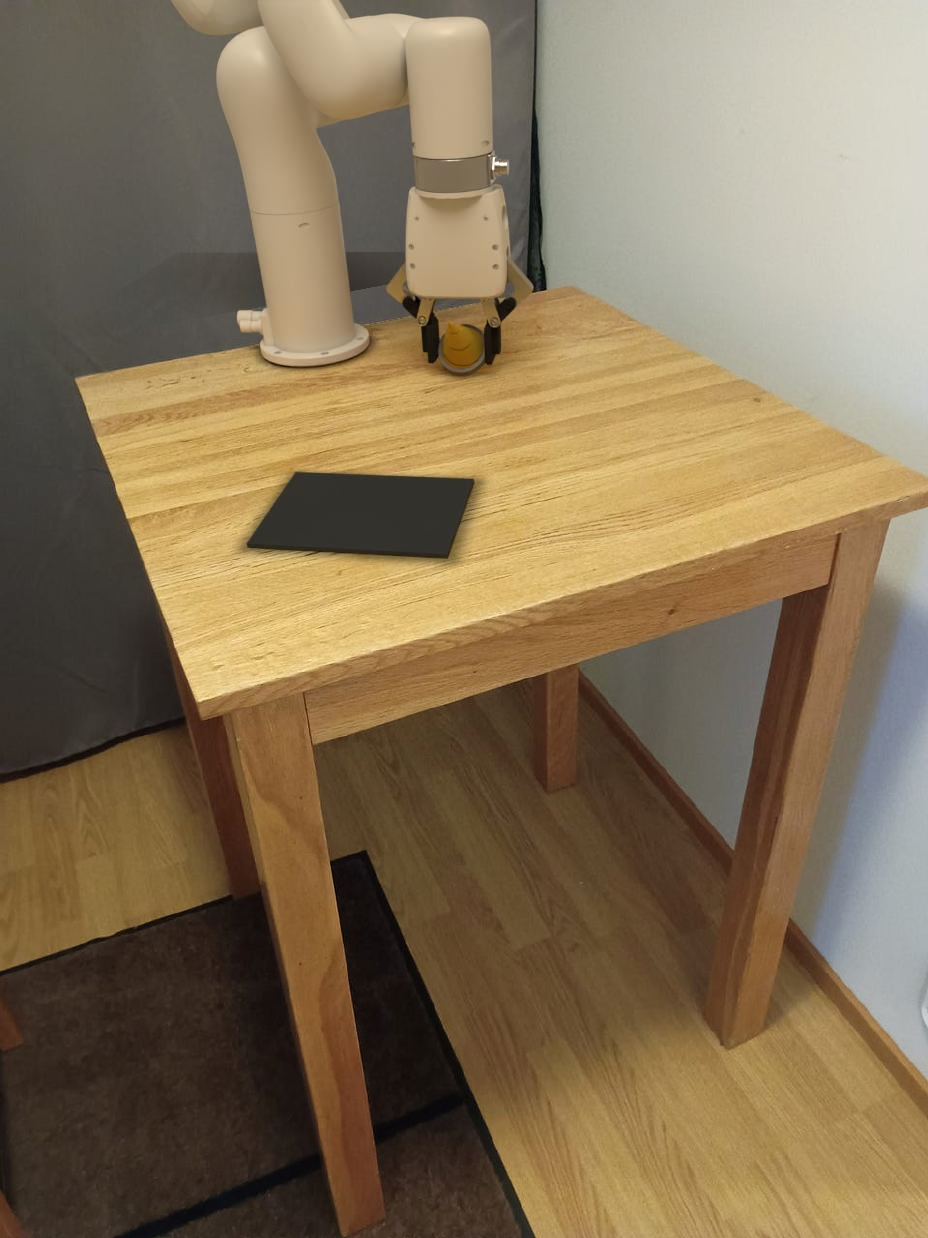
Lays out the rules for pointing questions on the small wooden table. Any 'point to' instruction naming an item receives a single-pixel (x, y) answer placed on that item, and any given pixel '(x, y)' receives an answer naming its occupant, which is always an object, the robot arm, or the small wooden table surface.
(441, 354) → the yellow cone
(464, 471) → the small wooden table surface
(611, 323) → the small wooden table surface
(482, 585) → the small wooden table surface
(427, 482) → the mat
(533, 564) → the small wooden table surface
